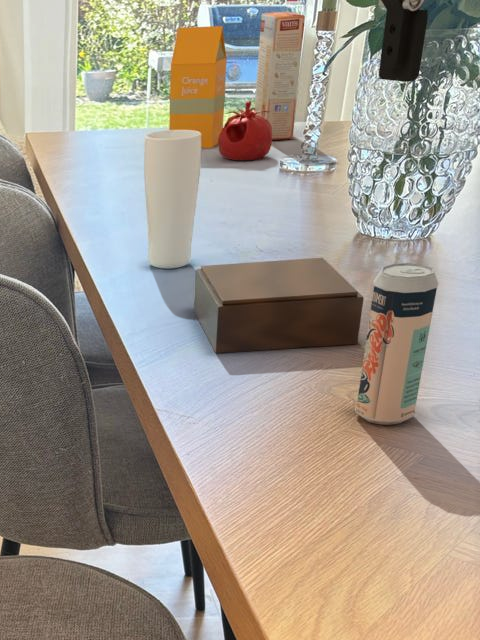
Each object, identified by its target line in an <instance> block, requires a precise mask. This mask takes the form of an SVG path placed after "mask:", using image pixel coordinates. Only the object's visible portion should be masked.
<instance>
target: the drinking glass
mask: <svg viewBox="0 0 480 640" xmlns="http://www.w3.org/2000/svg"><path fill="white" fill-rule="evenodd" d="M143 152H144V153H143V155H144V156H143V157H144V158H143V167H144V168H143V176H144V177H143V178H144V194H145V210H146V228H147V243H148V244H147V245H148V250H147V251H148V252H147V253H148V255H147V258H148V263H149V265H150V266H152V267H154V268H158V269H165V270H166V269H170V270H171V269H178V268H182V267H185V266H187V265H188V264H189V263H190V262H191V258H192V244H193V243H192V242H193V233H194V226H195V216H196V208H197V200H198V193H199V185H200V184H199V183H200V175H201V166H202V165H201V164H202V148H201V133H200V132H198V131H193V130H169V129H168V130H159V131H154V132H151V133H147V134H146V135H145V137H144V151H143Z"/></svg>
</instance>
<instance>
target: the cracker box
mask: <svg viewBox="0 0 480 640" xmlns="http://www.w3.org/2000/svg"><path fill="white" fill-rule="evenodd" d="M305 22H306V15H305V14H300V13H297V12H292V11H275V12H265V13H261V19H260V33H259V45H258V46H259V47H258V60H257V71H256V82H255V94H254V95H255V96H254V97H255V98H254V107H253V108H255V110H254V109H253V112H260V111H263V110H264V111H270V112H261V113H258V114H256V115H259V116H262V117H264V118H265V119H266V120H268V121H269V122H270V124H271V127H272V141H280V140H292V139H293V138H294V129H295V120H296V109H297V99H298V89H299V82H300V81H299V80H300V71H301V61H302V50H303V41H304V31H305V24H306V23H305Z"/></svg>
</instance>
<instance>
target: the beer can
mask: <svg viewBox="0 0 480 640" xmlns="http://www.w3.org/2000/svg"><path fill="white" fill-rule="evenodd" d="M436 275H437V274H436V271H435V268H434V267H432V266H429V265H426V264H423V263H412V262H401V263H392V264H391V263H390V264H388V265H385V266H381V270H380V271H379V272H378V274H377V275H376V276H375V278H374V279H373V283H372V284H373V292H372V298H371V304H370V312H369V319H368V325H367V332H366V338H365V347H364V353H363V360H362V365H361V366H362V367H361V373H360V381H359V386H358V394H357V400H356V405H355V408H354V411H355V413H356V414H357V415H358V416H360V417H361V418H362V419H363V420H365V421H366V422H369V423H372V424H376V425H381V426H382V425H385V426H387V425H388V426H390V425H397V424H402V423H403V422H405V421H408V420H409V419H411V418H413V417H414V416H415V415H416V405H417V400H418V394H419V389H420V384H421V378H422V373H423V367H424V363H425V362H424V361H425V357H426V350H427V345H428V340H429V335H430V328H431V323H432V317H433V312H434V307H435V302H436V301H435V300H436V295H437V290H438V287H439V283H440V282H439V281H438V278H437V276H436Z"/></svg>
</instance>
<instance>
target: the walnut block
mask: <svg viewBox="0 0 480 640" xmlns="http://www.w3.org/2000/svg"><path fill="white" fill-rule="evenodd" d="M194 275H195V276H194V278H195V279H194V294H193V295H194V298H193V312H194V314H195V316H196V318H197V320H198V322H199V324H200V325H201V328H202V329H203V331H204V333H205V335H206V337H207V340H208V341H209V343H210V345H211V347H212V348H213V350H214V352H215V354H224V353H238V352H254V351H255V352H256V351H269V350H284V349H285V350H286V349H287V350H288V349H300V348H301V349H302V348H318V347H329V346H330V347H333V346H345V345H347V346H348V345H358V341H359V336H360V335H359V333H360V327H361V322H362V321H361V320H362V314H363V313H362V312H363V305H364V296H363V295H362V294H361V293H360V292H359V291H358V290H357V289H356V288H355V287H354V286H353V285H352V284H350V283H349V281H348V280H347V279H346V278H345V277H344V276H343V275H341V273H339V272H338V271H337V270H336V268H334V267H333V266H332V265H331V264H330V263H329V262H328V261H327V260H326V259H325V258H323V257H313V258H311V257H310V258H297V259H296V258H295V259H284V260H283V259H281V260H269V261H268V260H267V261H266V260H265V261H254V262H253V261H251V262H239V263H237V262H236V263H224V264H211V265H210V264H209V265H201V266H200V268H195V274H194Z"/></svg>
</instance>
